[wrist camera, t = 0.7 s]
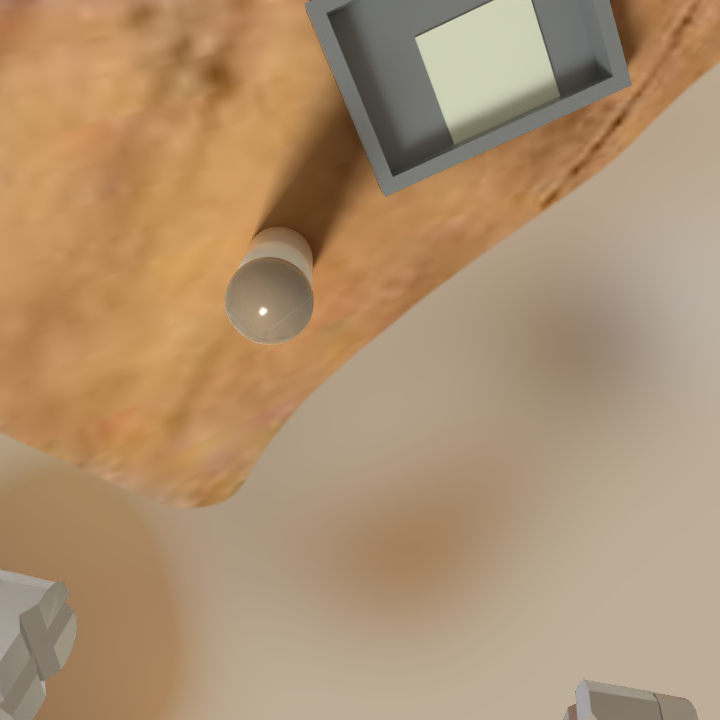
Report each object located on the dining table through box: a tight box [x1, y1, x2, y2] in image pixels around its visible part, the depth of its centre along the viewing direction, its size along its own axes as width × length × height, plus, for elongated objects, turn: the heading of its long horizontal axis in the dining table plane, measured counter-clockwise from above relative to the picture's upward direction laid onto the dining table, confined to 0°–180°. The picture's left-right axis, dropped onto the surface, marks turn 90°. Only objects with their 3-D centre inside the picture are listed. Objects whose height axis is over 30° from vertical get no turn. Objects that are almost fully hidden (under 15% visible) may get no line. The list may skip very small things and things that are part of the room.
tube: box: [225, 226, 314, 345], centre depth 45 cm, size 5×5×12 cm
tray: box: [305, 0, 632, 197], centre depth 45 cm, size 13×18×3 cm
